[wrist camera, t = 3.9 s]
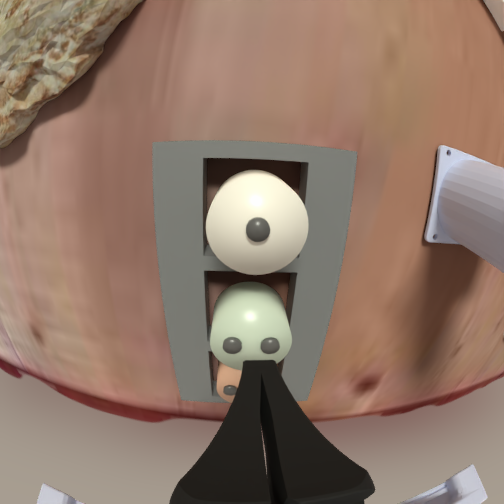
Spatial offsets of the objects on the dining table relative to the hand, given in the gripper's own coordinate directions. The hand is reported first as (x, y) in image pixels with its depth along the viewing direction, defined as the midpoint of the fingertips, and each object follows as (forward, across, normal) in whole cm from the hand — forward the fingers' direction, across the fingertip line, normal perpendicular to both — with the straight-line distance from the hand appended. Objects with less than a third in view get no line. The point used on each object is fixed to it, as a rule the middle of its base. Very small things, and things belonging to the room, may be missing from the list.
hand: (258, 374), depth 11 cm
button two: (+7, 0, +1) cm, 7 cm away
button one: (+7, 0, -6) cm, 9 cm away
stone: (+10, +16, -24) cm, 31 cm away
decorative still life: (+10, -33, -54) cm, 64 cm away
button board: (+9, 0, +2) cm, 9 cm away
